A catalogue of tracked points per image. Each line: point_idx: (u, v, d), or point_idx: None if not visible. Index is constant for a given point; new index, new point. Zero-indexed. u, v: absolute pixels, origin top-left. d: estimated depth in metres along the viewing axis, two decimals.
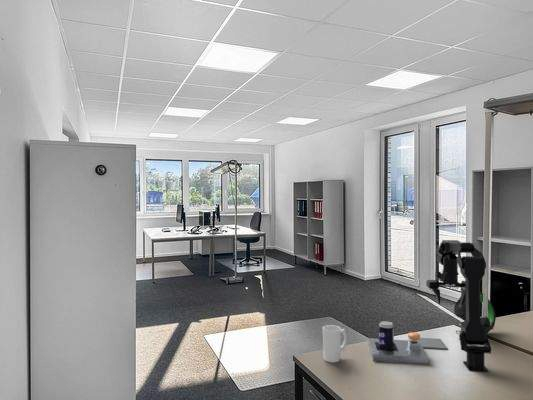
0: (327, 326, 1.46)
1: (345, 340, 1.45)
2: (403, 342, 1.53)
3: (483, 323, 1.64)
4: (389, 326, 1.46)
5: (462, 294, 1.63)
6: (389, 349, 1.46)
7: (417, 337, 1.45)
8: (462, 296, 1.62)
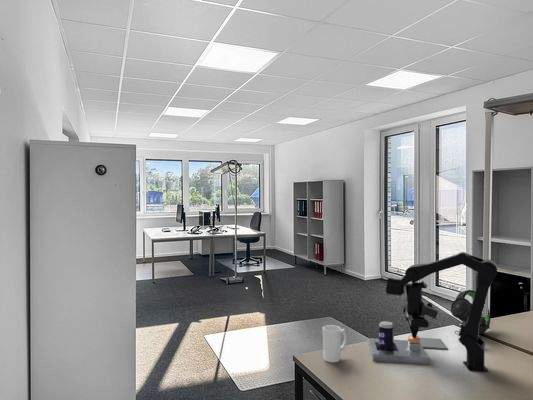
0: (327, 326, 1.46)
1: (345, 340, 1.45)
2: (403, 342, 1.53)
3: (480, 323, 1.64)
4: (389, 326, 1.46)
5: None
6: (389, 349, 1.46)
7: (417, 340, 1.45)
8: None
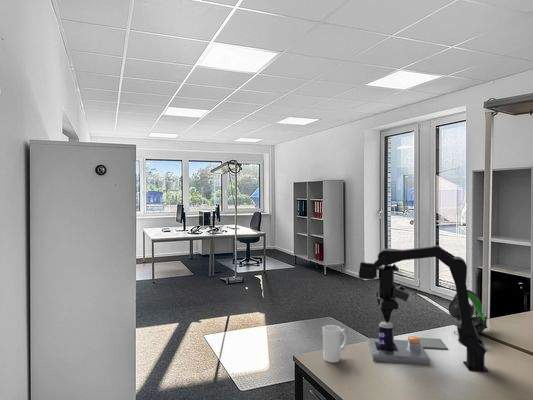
0: (327, 326, 1.46)
1: (345, 340, 1.45)
2: (403, 342, 1.53)
3: (478, 322, 1.65)
4: (389, 326, 1.46)
5: None
6: (389, 349, 1.46)
7: (417, 341, 1.45)
8: None
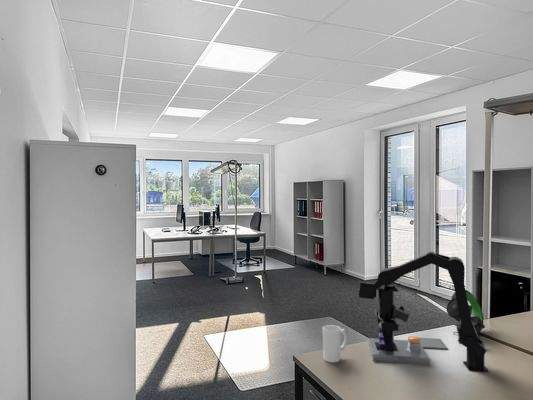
0: (327, 326, 1.46)
1: (345, 340, 1.45)
2: (403, 342, 1.53)
3: (476, 322, 1.65)
4: None
5: None
6: (389, 349, 1.46)
7: (417, 341, 1.45)
8: None
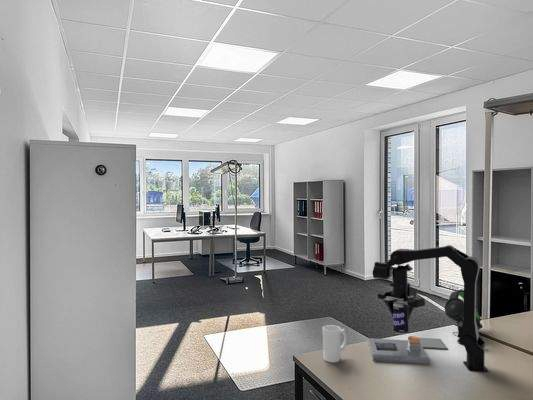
0: (327, 326, 1.46)
1: (345, 340, 1.45)
2: (403, 342, 1.53)
3: None
4: None
5: None
6: (407, 328, 1.49)
7: (417, 341, 1.45)
8: None
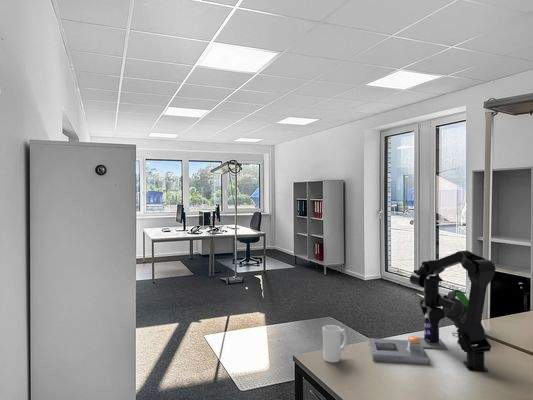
0: (327, 326, 1.46)
1: (345, 340, 1.45)
2: (403, 342, 1.53)
3: None
4: None
5: None
6: (434, 339, 1.54)
7: (417, 341, 1.45)
8: None
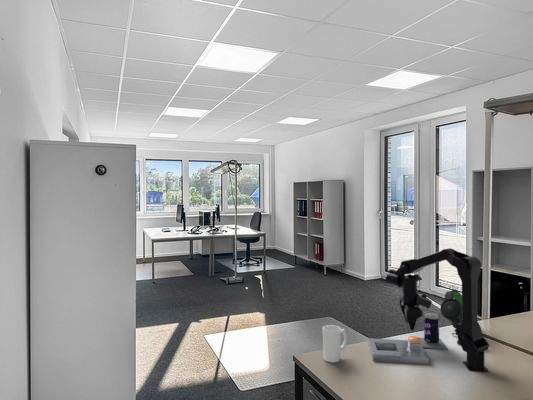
0: (327, 326, 1.46)
1: (345, 340, 1.45)
2: (403, 342, 1.53)
3: None
4: (435, 317, 1.55)
5: None
6: (434, 339, 1.54)
7: (417, 341, 1.45)
8: None
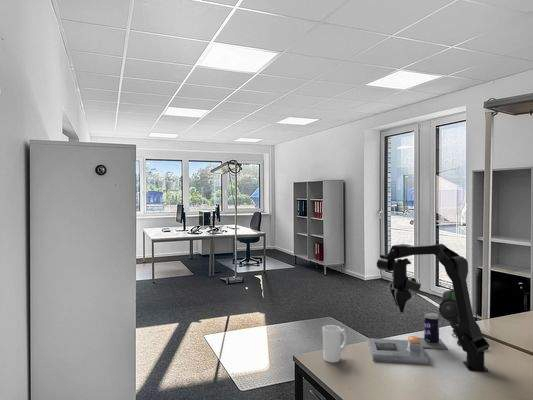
0: (327, 326, 1.46)
1: (345, 340, 1.45)
2: (403, 342, 1.53)
3: None
4: (435, 317, 1.55)
5: None
6: (434, 339, 1.54)
7: (417, 341, 1.45)
8: None
